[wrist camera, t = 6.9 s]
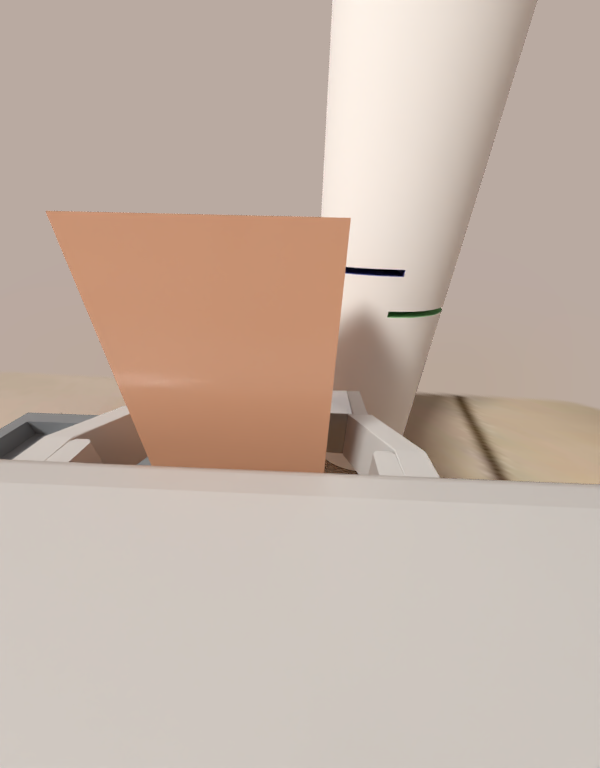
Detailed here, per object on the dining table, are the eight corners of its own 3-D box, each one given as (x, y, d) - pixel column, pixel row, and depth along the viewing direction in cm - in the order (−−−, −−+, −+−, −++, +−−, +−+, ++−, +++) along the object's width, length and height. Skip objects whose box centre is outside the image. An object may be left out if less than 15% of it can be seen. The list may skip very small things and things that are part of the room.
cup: (310, 493, 15) (329, 233, 8) (311, 592, 11) (350, 217, 4) (232, 490, 15) (184, 229, 8) (201, 587, 11) (45, 211, 4)
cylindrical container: (319, 405, 24) (351, -36, 11) (395, 418, 22) (532, -80, 10) (299, 458, 18) (321, -366, 5) (402, 482, 16) (794, -631, 4)
